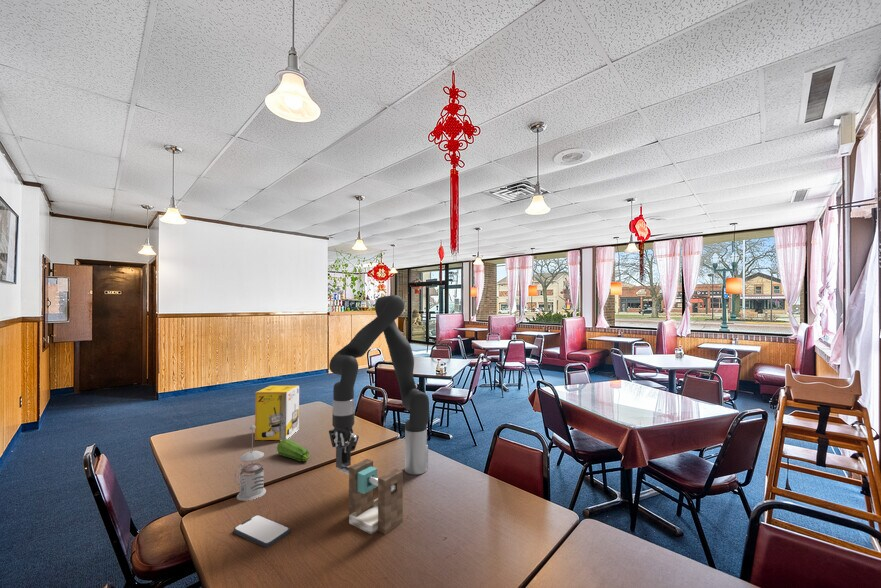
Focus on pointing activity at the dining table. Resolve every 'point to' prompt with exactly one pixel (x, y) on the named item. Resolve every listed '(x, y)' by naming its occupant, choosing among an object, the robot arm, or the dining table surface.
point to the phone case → (261, 530)
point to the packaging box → (276, 412)
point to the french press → (251, 476)
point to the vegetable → (292, 450)
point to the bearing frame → (376, 501)
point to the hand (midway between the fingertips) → (343, 461)
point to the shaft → (345, 469)
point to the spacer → (362, 480)
